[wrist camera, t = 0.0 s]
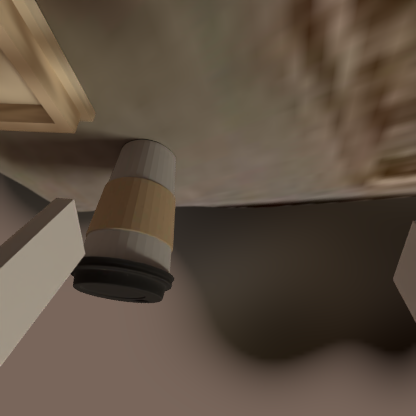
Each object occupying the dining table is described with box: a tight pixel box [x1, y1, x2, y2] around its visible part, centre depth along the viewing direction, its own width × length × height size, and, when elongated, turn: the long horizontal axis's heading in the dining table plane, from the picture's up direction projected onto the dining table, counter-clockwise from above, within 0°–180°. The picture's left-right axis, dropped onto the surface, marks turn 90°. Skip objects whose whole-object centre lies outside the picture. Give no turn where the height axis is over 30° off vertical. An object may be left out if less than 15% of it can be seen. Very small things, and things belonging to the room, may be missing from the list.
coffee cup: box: [71, 140, 176, 303], centre depth 33 cm, size 9×9×15 cm
